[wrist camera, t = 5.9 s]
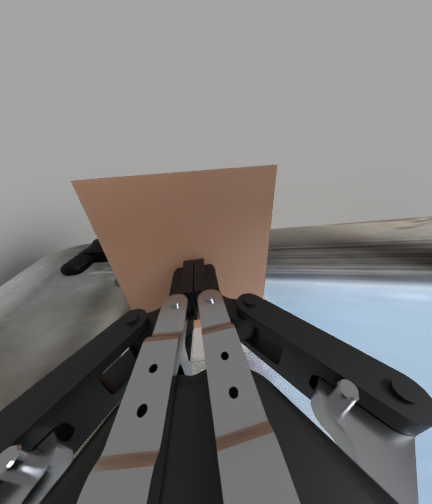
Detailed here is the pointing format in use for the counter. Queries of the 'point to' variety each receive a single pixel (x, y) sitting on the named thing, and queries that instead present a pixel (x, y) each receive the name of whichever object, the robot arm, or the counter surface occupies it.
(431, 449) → the counter surface
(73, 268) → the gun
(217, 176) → the terracotta tile
